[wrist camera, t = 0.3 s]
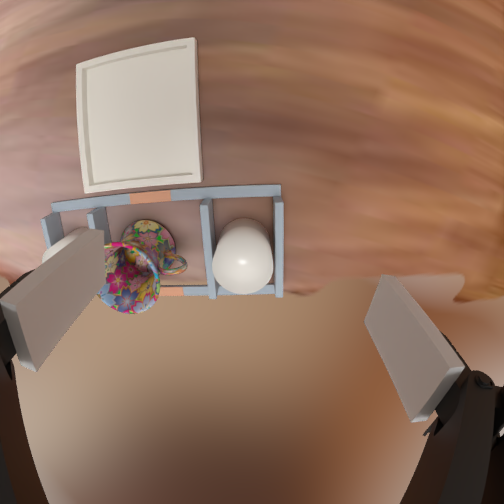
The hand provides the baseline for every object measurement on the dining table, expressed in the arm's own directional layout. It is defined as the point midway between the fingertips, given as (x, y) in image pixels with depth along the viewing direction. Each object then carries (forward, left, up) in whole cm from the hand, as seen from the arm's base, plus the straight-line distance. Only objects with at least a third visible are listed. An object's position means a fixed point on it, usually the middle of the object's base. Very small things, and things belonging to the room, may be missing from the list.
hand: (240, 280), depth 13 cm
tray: (-10, -14, -27) cm, 32 cm away
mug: (+9, -13, -28) cm, 32 cm away
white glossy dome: (+9, -1, -27) cm, 29 cm away
